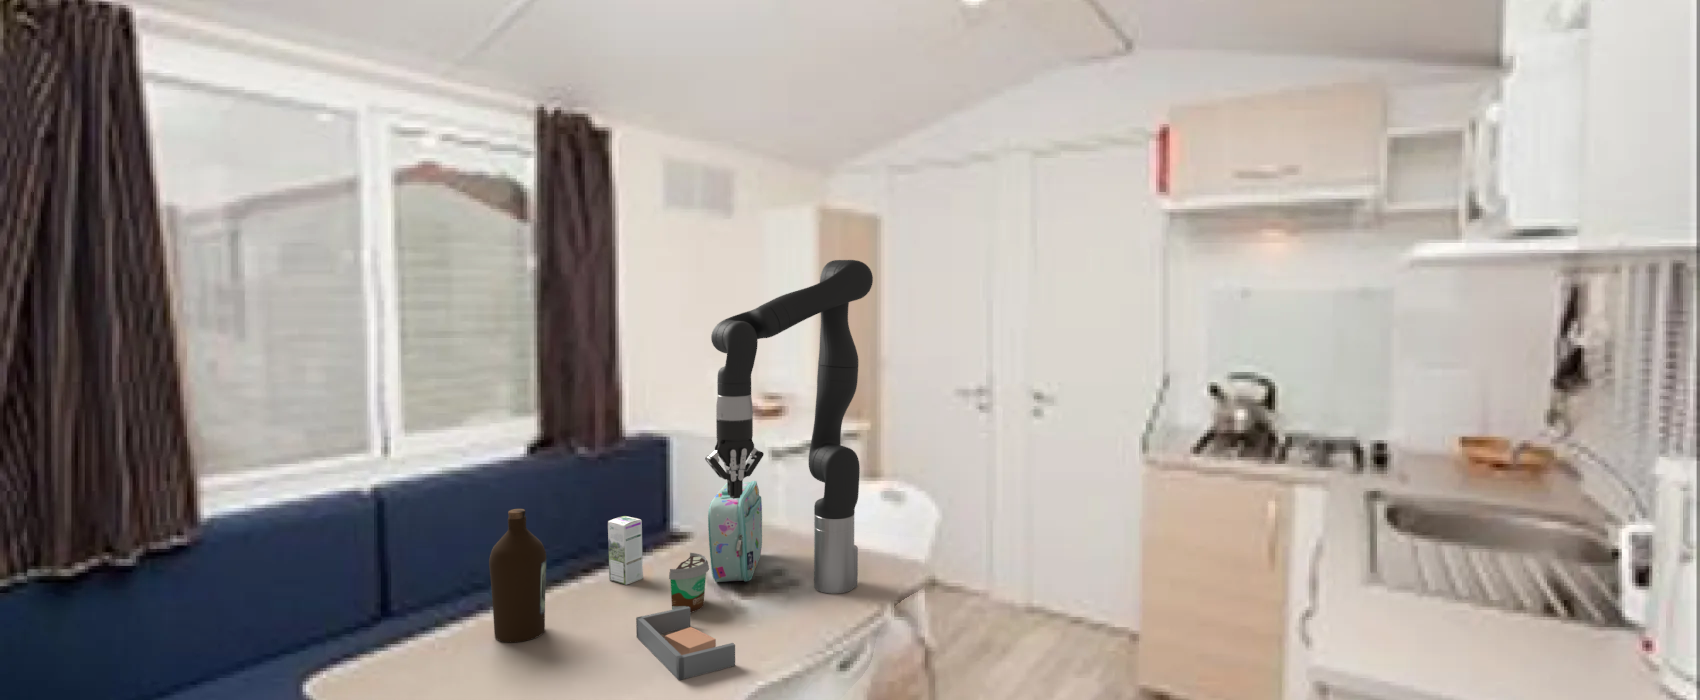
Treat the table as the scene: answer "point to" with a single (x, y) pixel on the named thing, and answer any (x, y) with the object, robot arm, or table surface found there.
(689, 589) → the food container
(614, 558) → the syrup box
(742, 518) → the lunch box
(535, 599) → the olive oil
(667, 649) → the box
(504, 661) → the table surface
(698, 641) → the tile
